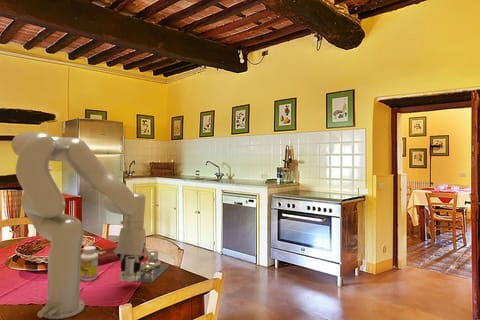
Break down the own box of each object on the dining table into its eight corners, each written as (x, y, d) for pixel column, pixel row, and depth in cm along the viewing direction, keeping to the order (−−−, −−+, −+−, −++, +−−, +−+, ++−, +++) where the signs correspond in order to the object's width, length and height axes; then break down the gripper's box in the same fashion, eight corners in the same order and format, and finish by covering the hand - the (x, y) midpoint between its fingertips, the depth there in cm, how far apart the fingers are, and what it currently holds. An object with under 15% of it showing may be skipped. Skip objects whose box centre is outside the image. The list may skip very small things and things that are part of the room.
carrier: (152, 282, 137) (152, 264, 137) (124, 280, 139) (125, 262, 139) (168, 267, 156) (169, 251, 156) (143, 265, 158) (144, 249, 157)
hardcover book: (134, 257, 169) (134, 249, 169) (93, 267, 153) (93, 258, 153) (121, 252, 177) (122, 244, 177) (81, 261, 161) (81, 252, 161)
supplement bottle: (76, 279, 138) (77, 248, 138) (90, 274, 144) (90, 244, 144) (87, 282, 135) (88, 250, 135) (100, 277, 141) (101, 247, 140)
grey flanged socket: (134, 282, 127) (136, 261, 128) (115, 280, 128) (117, 259, 129) (143, 276, 135) (144, 256, 135) (125, 274, 136) (126, 254, 136)
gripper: (108, 224, 130) (104, 271, 129) (150, 228, 127) (146, 276, 127) (118, 221, 137) (114, 266, 137) (157, 225, 135) (154, 270, 134)
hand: (130, 270), depth 132 cm, fingers closed on grey flanged socket, 4 cm apart
